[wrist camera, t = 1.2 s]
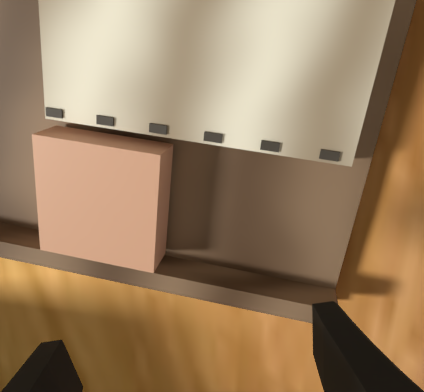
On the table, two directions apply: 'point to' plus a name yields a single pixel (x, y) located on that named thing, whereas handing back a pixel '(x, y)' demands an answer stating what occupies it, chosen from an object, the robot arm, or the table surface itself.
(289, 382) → the table surface
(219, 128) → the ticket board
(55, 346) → the robot arm
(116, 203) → the peach pink block
